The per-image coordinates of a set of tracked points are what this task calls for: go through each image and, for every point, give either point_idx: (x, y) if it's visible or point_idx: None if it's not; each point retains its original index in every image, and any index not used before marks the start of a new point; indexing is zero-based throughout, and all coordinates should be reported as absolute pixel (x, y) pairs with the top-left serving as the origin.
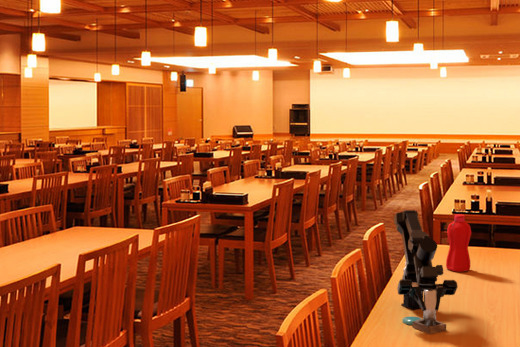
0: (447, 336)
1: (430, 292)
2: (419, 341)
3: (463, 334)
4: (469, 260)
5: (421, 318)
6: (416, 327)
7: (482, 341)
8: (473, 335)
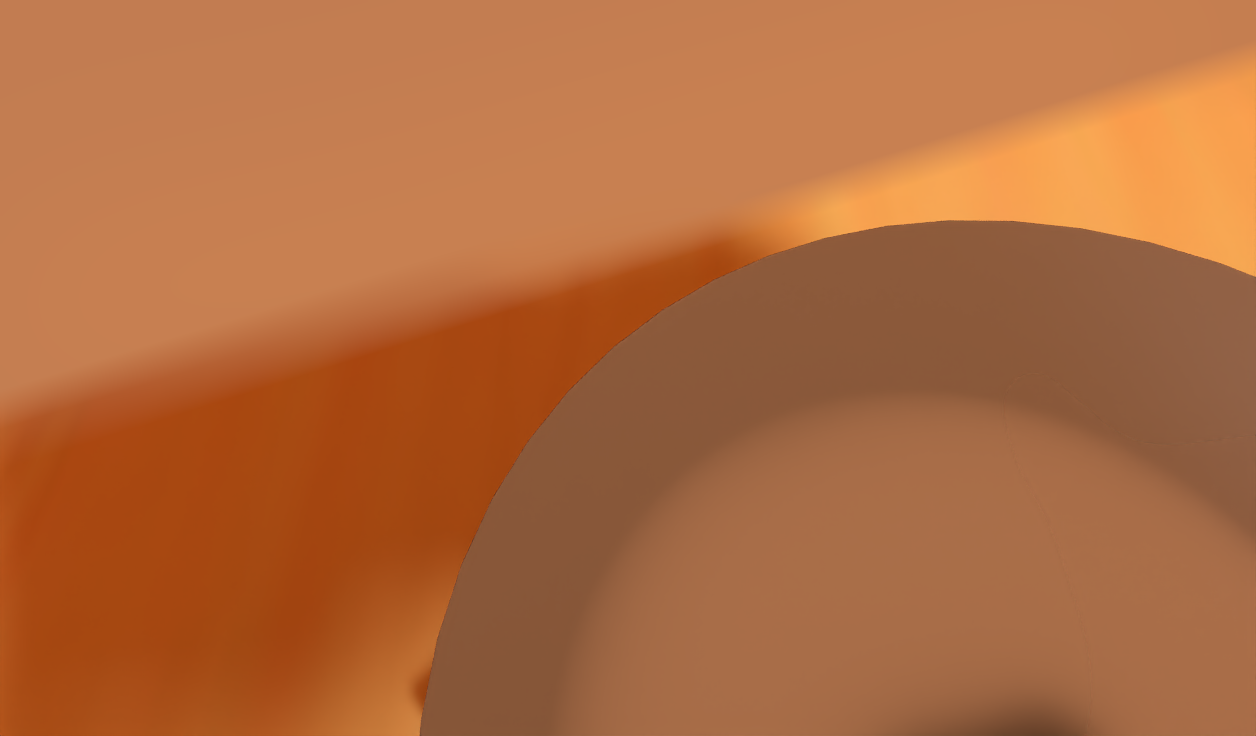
0: (483, 494)
1: (900, 270)
2: (844, 213)
3: (224, 660)
4: None
5: None
6: None
7: (54, 435)
8: (82, 655)
